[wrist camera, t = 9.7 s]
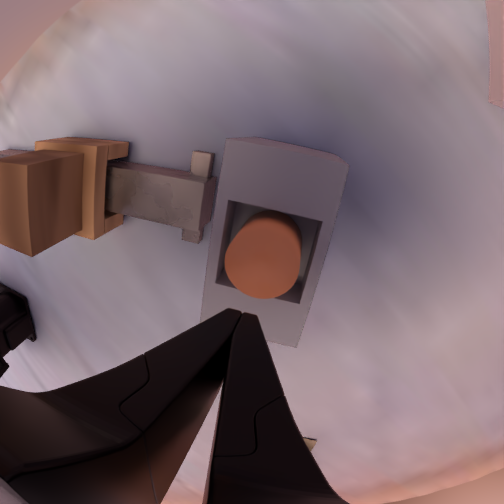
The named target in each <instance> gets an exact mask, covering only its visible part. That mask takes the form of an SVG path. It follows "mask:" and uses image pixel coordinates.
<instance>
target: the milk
mask: <svg viewBox="0 0 504 504" xmlns="http://www.w3.org/2000/svg"><path fill="white" fill-rule="evenodd" d="M485 2H486V10H487V20H488V33H489V58H490V78H489V102H490V103H492V104H494V105H497V106H499V107H501V108H503V109H504V0H485Z"/></svg>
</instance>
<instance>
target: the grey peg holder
mask: <svg viewBox="0 0 504 504" xmlns="http://www.w3.org/2000/svg"><path fill="white" fill-rule="evenodd" d="M349 166H350V165H349V164H347V163H346V162H345V161H343V160H342V159H341V158H339V157H338V156H337V155H335V154H331V153H327V152H323V151H319V150H315V149H311V148H307V147H302V146H298V145H293V144H289V143H284V142H279V141H274V140H269V139H264V138H259V137H244V138H227V139H226V143H225V148H224V154H223V160H222V166H221V173H220V179H219V185H218V191H217V198H216V204H215V211H214V218H213V225H212V232H211V239H210V246H209V253H208V261H207V268H206V276H205V284H204V292H203V300H202V309H201V317H200V323H201V322H203V321H205V320H207V319H208V318H210V317H212V316H214V315H216V314H217V313H219V312H221V311H223V310H225V309H226V308H232V309H236V310H240V311H241V312H242V313H243V312H247V313H251V314H255V315H257V316H258V318H259V321H260V324H261V327H262V330H263V333H264V336H265V339H266V341H269V342H274V343H278V344H282V345H286V346H291V347H295V348H296V347H297V345H298V342H299V339H300V336H301V333H302V330H303V327H304V324H305V321H306V318H307V315H308V312H309V309H310V306H311V303H312V299H313V296H314V293H315V290H316V287H317V283H318V280H319V277H320V274H321V270H322V267H323V264H324V260H325V257H326V253H327V250H328V246H329V243H330V239H331V236H332V232H333V228H334V225H335V221H336V217H337V214H338V210H339V206H340V202H341V198H342V194H343V190H344V186H345V182H346V178H347V174H348V170H349ZM268 210H272V211H278V212H281V213H284V214H286V215H287V216H289V217H290V218H291V219H293V221H294V222H295V223H296V224H297V226H298V227H299V229H300V232H301V236H302V248H301V259H300V269H299V274H298V277H297V280H296V282H295V283H294V285H293V286H292V287H291V288H290V289H289V290H288V291H287V292H286V293H284V294H282V295H280V296H278V297H275V298H270V299H259V298H254V297H251V296H248V295H246V294H244V293H242V292H241V291H240V290H238V289H237V288H236V287H235V286H234V285H233V284H232V282H231V281H230V279H229V278H228V275H227V273H226V270H225V262H224V261H225V254H226V251H227V248H228V246H229V245H230V243H231V242H232V240H233V239H234V238H235V236H236V235H237V234H238V232H239V231H240V229H241V228H242V227H243V225H244V224H245V223H246V221H247V220H248V219H249V218H250V217H251V216H253V215H254V214H256V213H259V212H262V211H268Z"/></svg>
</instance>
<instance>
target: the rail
mask: <svg viewBox="0 0 504 504" xmlns="http://www.w3.org/2000/svg"><path fill="white" fill-rule="evenodd" d="M27 152H32V151H25V150H11V149H8V150H3V151H0V158H4V157H8V156H13V155H17V154H22V153H27ZM214 154H215V153H209V152H203V151H193V153H192V160H191V167H190V172H187V171H181V170H175V169H169V168H163V167H157V166H151V165H144V164H138V163H131V162H124V161H117V160H107V166H106V182H105V204H104V210H106V211H110V212H115V213H119V214H123V215H128V216H132V217H136V218H141V219H145V220H149V221H154V222H158V223H162V224H166V225H171V226H175V227H179V228H183V233H182V240H185V241H189V242H193V243H197V244H198V243H199V242H200V241H201V240H202V236H203V229H204V226H205V225H206V224H207V223H208V222H209V221H210V220H211V213H212V206H213V199H214V193H215V186H216V180H217V177H214V176H211V173H212V167H213V160H214Z"/></svg>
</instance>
